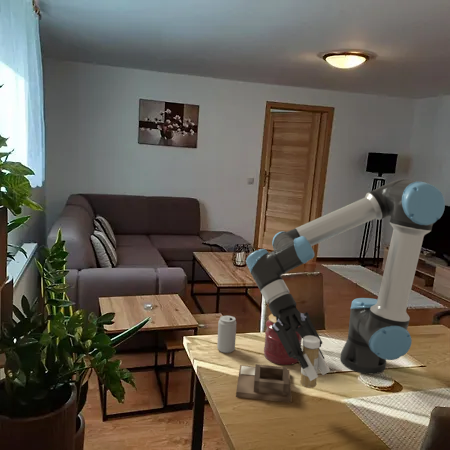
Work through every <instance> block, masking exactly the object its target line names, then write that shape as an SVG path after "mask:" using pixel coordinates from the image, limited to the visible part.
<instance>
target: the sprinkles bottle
mask: <svg viewBox="0 0 450 450" xmlns="http://www.w3.org/2000/svg"><path fill="white" fill-rule="evenodd" d="M320 339H321V338H320ZM320 339H319V338H318V337H315V336H310V335H309V336H305V337H304V338H302V351H303V355H304V354H307V356H308V358H309V360H310V362H311V364H312V365H313V367H314V369H315V371H316V373H317V374H318V371H319V368H318V354H319V349H320V348H321V347H320ZM319 347H320V348H319ZM300 367H301V366H300ZM317 378H318V377H317ZM317 378H315V379H313V380H312V381H310V379H309V377H308V376H307V374H306V372H305V370H304V369H303V368H302V367H301V368H300V381H299V383H300V385H301V386H302V387H304V388H306V389H307V388H308V389H313V388H316V386H317V380H318V379H317Z"/></svg>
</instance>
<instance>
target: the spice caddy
mask: <svg viewBox="0 0 450 450" xmlns="http://www.w3.org/2000/svg"><path fill="white" fill-rule="evenodd" d="M290 374H291V373H290V370H289V367H287V366H279V365H277V366H275V365H268V364H259V363H256V364H255V366H251V365H241V364H240V365H239V370H238V376H237V377H238V378H237V384H236V392H235V397H237V398H245V399H255V400H265V401H272V402H283V403H292V399H293V397H292V387H291V386H292V384H291V375H290Z"/></svg>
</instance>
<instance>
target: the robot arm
mask: <svg viewBox="0 0 450 450" xmlns="http://www.w3.org/2000/svg"><path fill="white" fill-rule="evenodd" d="M440 190H441V189H439V188H438V187H436V186H435V185H433V184H430V183H429V182H425V181H418V180H417V181H416V180H410V179H397V180H393V181H391V182H388V183H386V184H384V185H382V186H379V187H378V188H376V189H374V190H371V191H369V192H367V193H366V194H365V196H364V197H363V198H360V199H357V200H356V201H354V202H352V203H350V204H348V205H344V206H343V207H340V208H338V209H336V210H333V211H332V212H328V213H327V214H325V215H322V216H320V217H318V218H316V219H315V218H314V219H313V220H310V221H309V222H306V223H304V224H302V225H299V226H297V227H295V228H293V229H290V230H288V231H283V230H282V231H278V232H277V233H275V235H274V236H273V238H272V241H271V243H272V244H271V245H272V247H273V251H270V252H269V251H268V249H266V248H260V249H258V250H255V251H253V252H251V253H250V254H249V255H248V256H247V257H246V260H245V263H246V266H247V268H248V271H249V272H250V275H251V276H252V278H253V280H254V282H255V283H256V285H257V287H258V290H259V291H260V293H261V295H262V297H263V299H264V301H265V303H266V304H268V308H269V311H270V312H271V313H270V314H273V316H275V317H276V321H277V322H276V323H274V324H273V325H272V326H271V327H272V329H273V330H274V331H275V332H276V333H277V335H278V337H279V339H280V341H281V343H282V344H283V346H284V348H285V350H286V352H287V354H288V356H289V357H290V358H292V357H293V358H294V359H297V360H298V363H299V366H300V367H302V368H303V369H304V370H305V372H306V374H307V376H308V377H309V379H310V381H312V380H313V379H315V378H319V374H318V372H317V373H316V371H315V369H314V367H313V365H312V364H311V362H310V360H309V358H308V356H307V354H304V355H303V347H302V345H301V346H300V343H299V340H298V337H297V334H296V332H298V333H299V334H300V336H301V337H302V339H303V338H304V337H305V336H309V335H310V336H315V337H318V338H319V339H320V347H319V354H318V371H320V372H319V373H320V374H321V375H322V376H324V375H326V374H327V373H329V372H331V369H330V368H329V366H328V363H327V362H326V360H325V356H324V355H323V352H322V350H321V349H320V348H321V347H322V345H323V341H322V339H321V337H320V336H319V333H318V332H317V330H316V328H315V326H314V324H313V323H312V322H313V321H312V320H311V318H310V314H309V312H307V311H306V312H303V313H302V312H300V310H299V309H298V308H297V302H296V300H295V298H294V296H293V295H292V294H291V293H290V290H289V288H288V286H287V284H286V282H285V281H284V278H283V277H282V275H285V274H287V273H289V272H290V271H292V270H294V269H296V268H298V267H300V266H302V265H304V264H306V263H308V262H309V261H310V260H312V259H314V257H315V254H316V253H315V251H314V249H313V246H315V245H318V244H320V243H323V242H324V241H327V240H329V239H332V238H333V237H336V236H338V235H340V234H343V233H345V232H348V231H350V230H352V229H354V228H357V227H358V226H361V225H364V224H365V223H368V222H371V221H373V220H375V219H376V220H378V221H381V220H383V219H386V218H388V217H390V218H389V219H390V220H389V225H390V226H391V227H392V229H393V230H392V234H391V239H390V242H389V247H388V252H387V258H386V260H385V266H384V269H383V274H382V278H381V283H380V288H379V293H378V296H377V298H370V297H358V298H355V299H353V300H352V301H351V304H350V305H351V306H350V308H349V309H350V313H349V322H348V323H349V324H348V332H347V333H348V334H347V340H346V341H345V343H344V345H343V348H342V349H341V352H340V357H339V358H340V362H341V364H342V365H343V366H344V367H346V368H348V369H349V370H351V371H354V372H358V373H362V374H366V373H373V374H372V375H375V374H376V375H377V374H380V373H383V372H384V371H386V366H387V361H395V360H398V359H400V358H401V357H404V355H406V354H408V352H409V351H410V349H411V347H412V344H413V343H412V341H413V340H412V336H411V334H410V331H409V330H408V328H409V324H410V318H411V317H410V316H409V314H408V313H407V308H408V304H409V299H410V296H411V291H412V286H413V283H414V279H415V274H416V269H417V266H418V263H419V258H420V255H421V250H422V245H423V241H424V237H425V236H426V235H427V234H429V233H430V232H432V229H433V225H434V224H435V223H436V222H437V221H438V220H440V219H441V217H442V216H443V214H444V211H445V208H446V207H445V206H446V199H445V197H444V194H443V193H442V191H440ZM299 326H300V327H299ZM291 351H292V352H291Z"/></svg>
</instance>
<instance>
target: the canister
mask: <svg viewBox="0 0 450 450" xmlns="http://www.w3.org/2000/svg"><path fill="white" fill-rule="evenodd" d="M276 322H277V321H276V317H275V316H273V314H272V313H270V314H269V315H268V320H267V321H266V322H265V326H266V330H265V331H264V333H265V338H264V346H263V355H264V357H265V359H267V361H268V362H271V363H274V364H276V365H283V366H284V365H286V366H288V365H294V364H297V363H299V361H298V360H297V359H294V358H293V357H292V358H290V357H289V356H288V354H287V352H286V350H285V348H284V346H283V344H282V343H281V341H280V339H279V337H278V335H277V333H276V332H275V331H274V330H273V329H272V327H271V326H272V325H273V324H274V323H276ZM299 327H300V326H299ZM296 334H297V337H298V340H299V343H300V346H301V347H302V343H303V338H302V337H301V336H300V334H299V333H298V332H296ZM291 352H292V351H291Z"/></svg>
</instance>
